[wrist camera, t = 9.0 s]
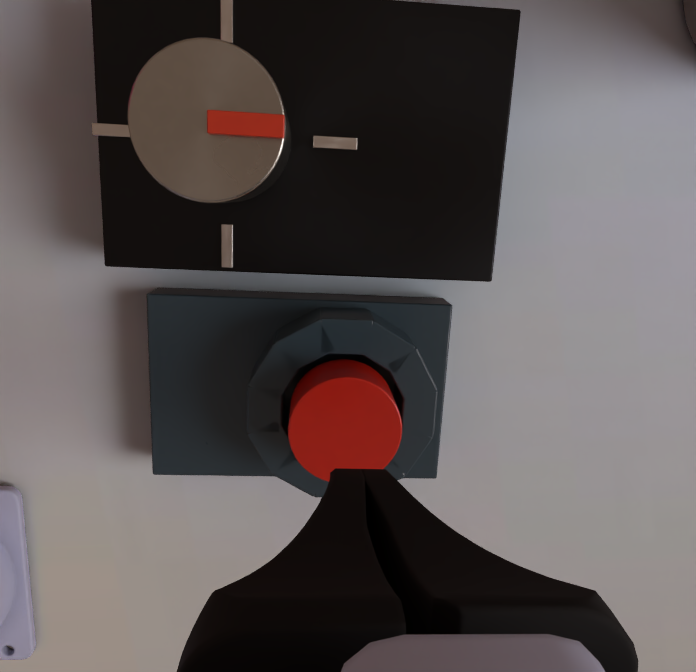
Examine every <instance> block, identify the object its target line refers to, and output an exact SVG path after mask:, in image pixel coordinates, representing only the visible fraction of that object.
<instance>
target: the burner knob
mask: <svg viewBox="0 0 696 672" xmlns="http://www.w3.org/2000/svg"><path fill="white" fill-rule="evenodd" d="M128 128H129V133H130V137H131V141H132V144H133V147H134V149H135V152H136V154H137V156H138V158H139V160H140V161H141V163H142V164H143V166H144V167H145V169H146V170H147V171H148V172H149V174H150V175H151V176H152V177H153V178H154V179H155V180H156V181H157V182H158V183H159V184H160V185H162V186H163V187H165V188H166V189H167V190H169V191H170V192H172V193H174V194H176V195H178V196H180V197H182V198H185V199H188V200H191V201H195V202H200V203H229V202H239V201H244V200H248V199H251V198H253V197H255V196H258V195H259V194H261V193H263V192H264V191H266V190H267V189H268V188H269V187H271V186H272V185H273V183H274V182H275V181H276V180H277V179H278V177H279V176H280V175H281V173H282V171H283V169H284V167H285V165H286V163H287V160H288V157H289V152H290V146H291V131H290V124H289V120H288V117H287V113H286V110H285V107H284V103H283V100H282V96H281V94H280V92H279V89H278V87H277V85H276V83H275V81H274V80H273V78H272V76H271V75H270V74H269V72H268V71H267V70H266V68H265V67H264V66H263V65H262V64H261V63H260V62H259V61H258V60H257V59H256V58H255V57H254V56H252V55H251V54H250V53H249V52H247V51H245V50H244V49H242V48H240V47H239V46H236V45H234V44H232V43H230V42H227V41H223V40H220V39H214V38H208V37H196V38H189V39H184V40H181V41H177V42H175V43H173V44H170V45H168V46H166V47H165V48H163V49H162V50H160V51H158V52H157V53H156V54H155V55H154V56H153V57H151V58H150V59H149V60H148V62H147V63H146V64H145V65H144V66H143V68H142V69H141V71H140V72H139V74H138V75H137V77H136V80H135V82H134V84H133V86H132V90H131V93H130V97H129V103H128Z"/></svg>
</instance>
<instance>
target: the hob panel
mask: <svg viewBox="0 0 696 672" xmlns="http://www.w3.org/2000/svg"><path fill="white" fill-rule="evenodd" d="M91 7H92V26H93V45H94V65H95V84H96V104H97V123H92V135H94V136H98V142H99V162H100V181H101V200H102V220H103V239H104V258H105V266H110V267H135V268H160V269H185V270H210V271H236V272H261V273H286V274H311V275H336V276H361V277H387V278H412V279H437V280H462V281H487V282H490V281H491V280H492V272H493V263H494V254H495V244H496V235H497V226H498V216H499V207H500V198H501V189H502V179H503V170H504V161H505V152H506V142H507V133H508V124H509V115H510V105H511V96H512V87H513V78H514V68H515V59H516V50H517V40H518V31H519V22H520V13H521V12H520V10H514V9H501V8H488V7H475V6H461V5H448V4H435V3H422V2H408V1H395V0H91ZM196 37H208V38H214V39H220V40H223V41H227V42H230V43H232V44H234V45H236V46H239V47H240V48H242V49H244V50H245V51H247V52H249V53H250V54H251V55H252V56H254V57H255V58H256V59H257V60H258V61H259V62H260V63H261V64H262V65H263V66H264V67H265V68H266V70H267V71H268V72H269V74H270V75H271V76H272V78H273V80H274V81H275V83H276V85H277V87H278V89H279V92H280V94H281V96H282V100H283V103H284V107H285V110H286V113H287V117H288V120H289V124H290V131H291V146H290V152H289V157H288V160H287V163H286V165H285V167H284V169H283V171H282V173H281V175H280V176H279V177H278V179H277V180H276V181H275V182H274V183H273V185H272V186H271V187H269V188H268V189H267V190H266V191H264V192H263V193H261V194H259V195H258V196H255V197H253V198H251V199H248V200H244V201H239V202H229V203H200V202H195V201H191V200H188V199H185V198H182V197H180V196H178V195H176V194H174V193H172V192H170V191H169V190H167V189H166V188H165V187H163V186H162V185H160V184H159V183H158V182H157V181H156V180H155V179H154V178H153V177H152V176H151V175H150V174H149V172H148V171H147V170H146V169H145V167H144V166H143V164H142V163H141V161H140V160H139V158H138V156H137V154H136V152H135V149H134V147H133V144H132V141H131V137H130V133H129V128H128V103H129V97H130V93H131V90H132V86H133V84H134V82H135V80H136V77H137V75H138V74H139V72H140V71H141V69H142V68H143V66H144V65H145V64H146V63H147V62H148V60H149V59H150V58H151V57H153V56H154V55H155V54H156V53H157V52H158V51H160V50H162V49H163V48H165V47H166V46H168V45H170V44H173V43H175V42H177V41H181V40H184V39H189V38H196Z"/></svg>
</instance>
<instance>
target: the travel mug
mask: <svg viewBox="0 0 696 672" xmlns="http://www.w3.org/2000/svg"><path fill="white" fill-rule="evenodd" d="M683 6H684V12H685V18H686V24H687V26H688V29H689V32H690V35H691V37H692V40H693V41H694V43H695V44H696V0H683Z"/></svg>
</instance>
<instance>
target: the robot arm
mask: <svg viewBox="0 0 696 672" xmlns="http://www.w3.org/2000/svg"><path fill="white" fill-rule="evenodd" d="M7 645H8V646H11V647H13V648H14V649H12V648H9V647H8V646H7ZM35 648H36V637H35V626H34V616H33V605H32V595H31V584H30V574H29V563H28V552H27V542H26V531H25V521H24V510H23V500H22V495H21V493H20V491H19V490H18V489H16V488H15V487H12V486H0V660H22V659H27V658H28V657H30V656H31V655H32V653H33V651H34V650H35ZM177 672H638V658H637V655H636V651H635V647H634V644H633V642H632V641H631V639H630V638H629V636H628V635H627V633H626V632H625V630H624V629H623V627H622V626H621V624H620V623H619V621H618V620H617V618H616V617H615V616H614V614H613V613H612V611H611V610H610V609H609V607H608V606H607V605H606V603H605V602H604V601H603V600H602V598H601V597H600V596H599V595H598V594H597V592H596V591H594V590H591V589H587V588H584V587H580V586H577V585H573V584H570V583H566V582H563V581H559V580H556V579H552V578H549V577H546V576H544V575H541V574H539V573H536V572H533V571H531V570H528V569H525V568H523V567H521V566H518V565H516V564H514V563H511V562H509V561H507V560H505V559H503V558H501V557H499V556H497V555H495V554H493V553H491V552H489V551H487V550H485V549H483V548H482V547H480V546H478V545H476V544H475V543H473V542H471V541H470V540H468V539H467V538H465V537H464V536H462V535H460V534H459V533H457V532H456V531H454V530H453V529H452V528H450V527H449V526H447V525H446V524H445V523H444V522H442V521H441V520H440V519H438V518H437V517H436V516H435V515H433V514H432V513H431V512H430V511H429V510H427V509H426V508H425V507H424V506H423V505H422V504H421V503H420V502H418V501H417V500H416V499H415V498H414V497H413V496H412V495H411V494H410V493H409V492H408V491H407V490H406V489H405V488H404V487H403V486H402V485H401V484H400V483H399V482H398V481H397V480H396V479H395V478H394V477H393V476H392V475H391V474H390V473H389V472H388V471H387V470H386V469H343V468H335V469H334V470H333V471H332V472H330V480H329V483H328V486H327V489H326V491H325V493H324V495H323V497H322V499H321V501H320V503H319V505H318V506H317V508H316V510H315V511H314V513H313V514H312V516H311V517H310V519H309V520H308V522H307V523H306V525H305V526H304V527H303V528H302V530H301V531H300V532H299V533H298V535H297V536H296V537H295V538H294V539H293V540H292V541H291V542H290V543H289V545H288V546H286V547H285V548H284V549H283V550H282V551H281V552H280V553H279V554H278V555H277V556H276V557H275V558H273V559H272V560H271V561H270V562H268V563H267V564H265V565H264V566H262V567H261V568H259V569H258V570H256V571H254V572H253V573H251V574H249V575H248V576H246V577H244V578H242V579H240V580H238V581H236V582H233V583H231V584H229V585H227V586H225V587H223V588H220V589H218V590H215V591H214V592H213V593H212V594H211V596H210V597H209V599H208V601H207V602H206V604H205V606H204V608H203V609H202V611H201V613H200V615H199V617H198V619H197V621H196V623H195V625H194V627H193V629H192V631H191V633H190V636H189V638H188V640H187V642H186V645H185V647H184V650H183V653H182V656H181V659H180V662H179V666H178V669H177Z"/></svg>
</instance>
